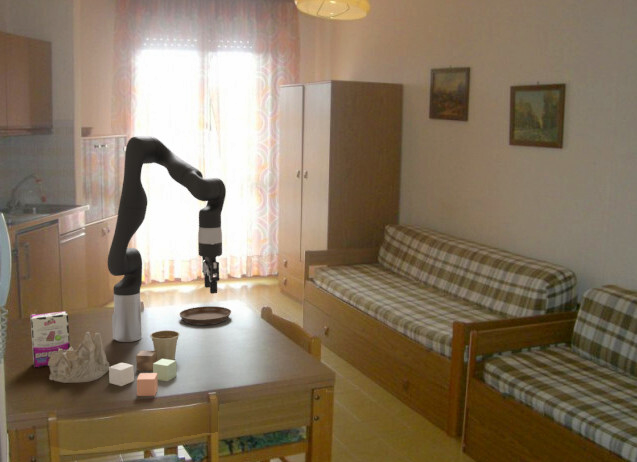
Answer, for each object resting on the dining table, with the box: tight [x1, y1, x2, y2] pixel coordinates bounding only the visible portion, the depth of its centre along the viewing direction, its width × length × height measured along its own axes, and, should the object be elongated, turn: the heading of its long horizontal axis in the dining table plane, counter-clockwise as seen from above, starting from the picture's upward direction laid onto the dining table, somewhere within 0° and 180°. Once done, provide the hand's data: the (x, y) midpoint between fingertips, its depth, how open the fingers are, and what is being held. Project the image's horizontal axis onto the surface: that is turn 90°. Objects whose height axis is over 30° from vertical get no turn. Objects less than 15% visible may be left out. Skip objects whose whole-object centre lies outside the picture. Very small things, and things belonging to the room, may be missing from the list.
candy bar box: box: [29, 311, 71, 368], centre depth 214 cm, size 11×5×16 cm, turn 117°
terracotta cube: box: [136, 372, 159, 397], centre depth 192 cm, size 5×5×5 cm
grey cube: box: [108, 362, 135, 387], centre depth 199 cm, size 5×5×5 cm
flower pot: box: [149, 329, 181, 361], centre depth 219 cm, size 9×9×9 cm
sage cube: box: [152, 359, 177, 382], centre depth 203 cm, size 5×5×5 cm
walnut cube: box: [135, 349, 157, 372], centre depth 211 cm, size 5×5×5 cm
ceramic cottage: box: [47, 331, 111, 384], centre depth 205 cm, size 16×16×15 cm
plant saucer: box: [179, 305, 232, 326], centre depth 267 cm, size 21×21×3 cm
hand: (210, 290), depth 214 cm, fingers open, 8 cm apart
